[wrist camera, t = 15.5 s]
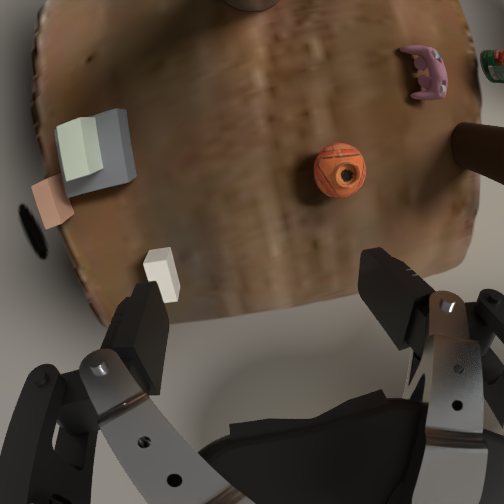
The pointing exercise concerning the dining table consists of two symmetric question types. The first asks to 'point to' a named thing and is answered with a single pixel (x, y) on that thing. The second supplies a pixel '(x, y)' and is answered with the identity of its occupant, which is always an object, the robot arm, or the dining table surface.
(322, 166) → the pot
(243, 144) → the dining table surface
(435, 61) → the video game controller
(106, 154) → the charcoal block
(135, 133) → the dining table surface
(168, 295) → the cream brick
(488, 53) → the canned tomato
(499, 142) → the brown bottle
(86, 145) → the sage brick
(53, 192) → the terracotta brick
